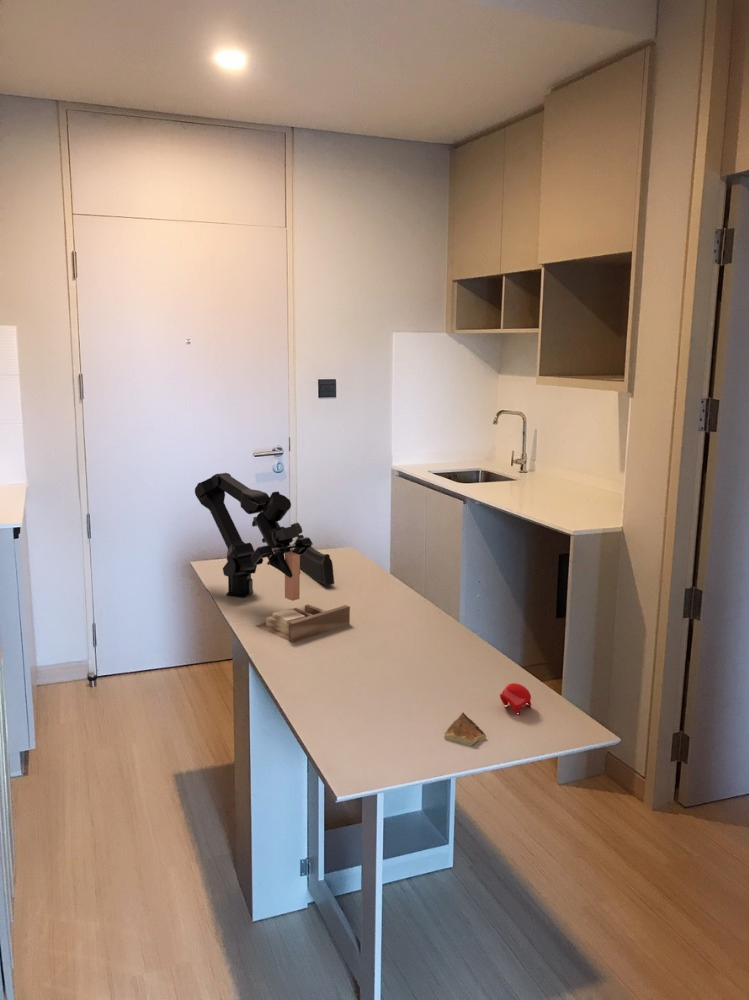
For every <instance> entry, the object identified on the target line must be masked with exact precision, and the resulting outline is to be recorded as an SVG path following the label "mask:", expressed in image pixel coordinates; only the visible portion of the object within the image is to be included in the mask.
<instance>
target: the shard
mask: <svg viewBox="0 0 749 1000" xmlns="http://www.w3.org/2000/svg"><path fill="white" fill-rule="evenodd" d="M486 738H487V735H486V733H485V732H484V731H483V729H481V728H480V727H479V726H478V725H477V724H476V723H475V722H474V721H473V720H472V719H470V718H469V716H468V715H466V713H464V712H461V714H460V715H459V716H458V718H457V719H456V720H454V722H453V723H452V724H451V725H450V726H449V727H448V728H447V730H446V732H445V733H444V739H445V740H447V741H451V742H456V743H460V744H462V745H467V746H469V747H471V746H472V745H474V744H475V743H477V742H480V741H484V740H485V739H486Z"/></svg>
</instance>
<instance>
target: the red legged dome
mask: <svg viewBox="0 0 749 1000" xmlns="http://www.w3.org/2000/svg"><path fill="white" fill-rule="evenodd" d="M499 698H500V700H501V702H502V704H503V706H504V705H507V704H508V705H510V707H511V708H512V709H513V711H514V712H515V714H516V713H519V712H520V710H519V709H520V708H522V707H524V706H525V705H527V704H526V703H528V704H529V705H531V706H532V702H531V701H532V696H531V693H530V691H529V689H527V688H526V686H524V685H523V684H520V683H516V682H515V683H513V682H512V683H509V684H507V685H506V686H505V688H504V689H503V690H502V692H501V693H500V694H499ZM529 705H528V706H529Z"/></svg>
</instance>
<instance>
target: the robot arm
mask: <svg viewBox="0 0 749 1000" xmlns="http://www.w3.org/2000/svg"><path fill="white" fill-rule="evenodd" d="M194 494H195V496H196V498H197V500H198V501H199V503H200V504H201V506H203V507H204V508H207V510H209V513H210V515H211V516H212V518H213V520H214V522H215V525H216V527H217V528H218V531H219V533H220V535H221V537H222V539H223V541H224V543H225V546H226V548H227V553H226V561H227V562H226V563H225V564H224V566H223V567H222V572H223V576H225V577H227V579H228V582H227V583H228V586H227V589H228V591H227V592H226V593H225V594H226V596H229V597H231V596H232V597H240V598H246V597H248V596H249V595H250V594H252V593H253V592H254V589H253V587H254V586H253V585H254V584H253V581H254V580H253V578H252V574H256V571H257V567H258V566H259V565H262V564H263V563H264V559H265V558H267V560H268V561H267V562H266V564H267V565H268V566H272V567H274V568H275V569H277V570H278V571H279V572H281V573H283V574H284V576H285V575H287V576H288V577H289V578H291V577H292V573H291V570H290V568H289V567H288V565H287V563H286V561H285V554H286V553H290V552H293V553H296V554H299V555H303V554H304V553H306V551H307V550H308V549H309V548H310V547H313V544H314V543H313V542H312V540H311V538H310V537H307V536H306V537H304V538H300V539H297V538H298V537H299V535H301V534H302V533H303V528H302V525H301V524H300V523H299V522H296V523H295V522H294V523H291V524H290V526H288V527H285V526H281V525H280V523H279V522H280V521H281V520H282V519H283V518H284V517H285V516H286V514H287V513H288V512H289V510H290V509H291V507H292V502H291V500H290V499H289V498H288V497H287V496H285V495H284V494H280V492H279V491H273V492H272V493H271V494H270V496H269V495H268V493H267V492H265V491H262V490H257V489H252V488H249V487H248V486H247V485H245V484H244V483H242V482H240V481H239V480H238V479H236V478H234V477H233V476H232V475H231V474H230V473H227V472H221V473H220V472H219V473H215V474H214V475H212V476H211V477H210V478H207V479H205V480H202V481H200V482H198V483H197V485H196V486H195V488H194ZM226 494H228V495H229V496H231V498H233V499H235V500H236V501H238V502H239V504H240V508H241V509H242V510H243V511H244V512H245V513H246V514H248V515H255V514H257V516H253V519H252V522H251V526H252V527H257V528H258V531H259V532H260V534H261V535H262V539H261V541H262V543H265V544H266V545H263V546H262V545H261V546H258V547H257V548H256V549H255V548H254V547H253V544H252V543H251V542H247V543H245V542H244V541H243V539H242V537H241V535H240V533H239V531H238V528H237V527H236V524H235V523H234V521H233V518H232V516H231V514H230V511H229V510H228V508H227V506H226V504H225V499H226ZM294 538H296V540H297V541H296V540H295V541H296V542H294V543H293V541H294ZM291 543H293V544H291ZM247 595H248V596H247Z"/></svg>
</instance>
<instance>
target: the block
mask: <svg viewBox="0 0 749 1000" xmlns="http://www.w3.org/2000/svg"><path fill="white" fill-rule="evenodd" d="M284 559H285V561H286V563H287V565H288V567H289V568H290V570H291V573H292V577H291V578H289V577H288V576H287V575H285V574H284V598H285V599H286V600H290V601H292V602H293V601H297V600H300V598H301V597H300V595H301V594H300V588H301V586H300V583H301V581H300V580H301V579H300V576H301V567H300V555H299V554H296V553H293V552H290V553H286V554H285V553H284Z"/></svg>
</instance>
